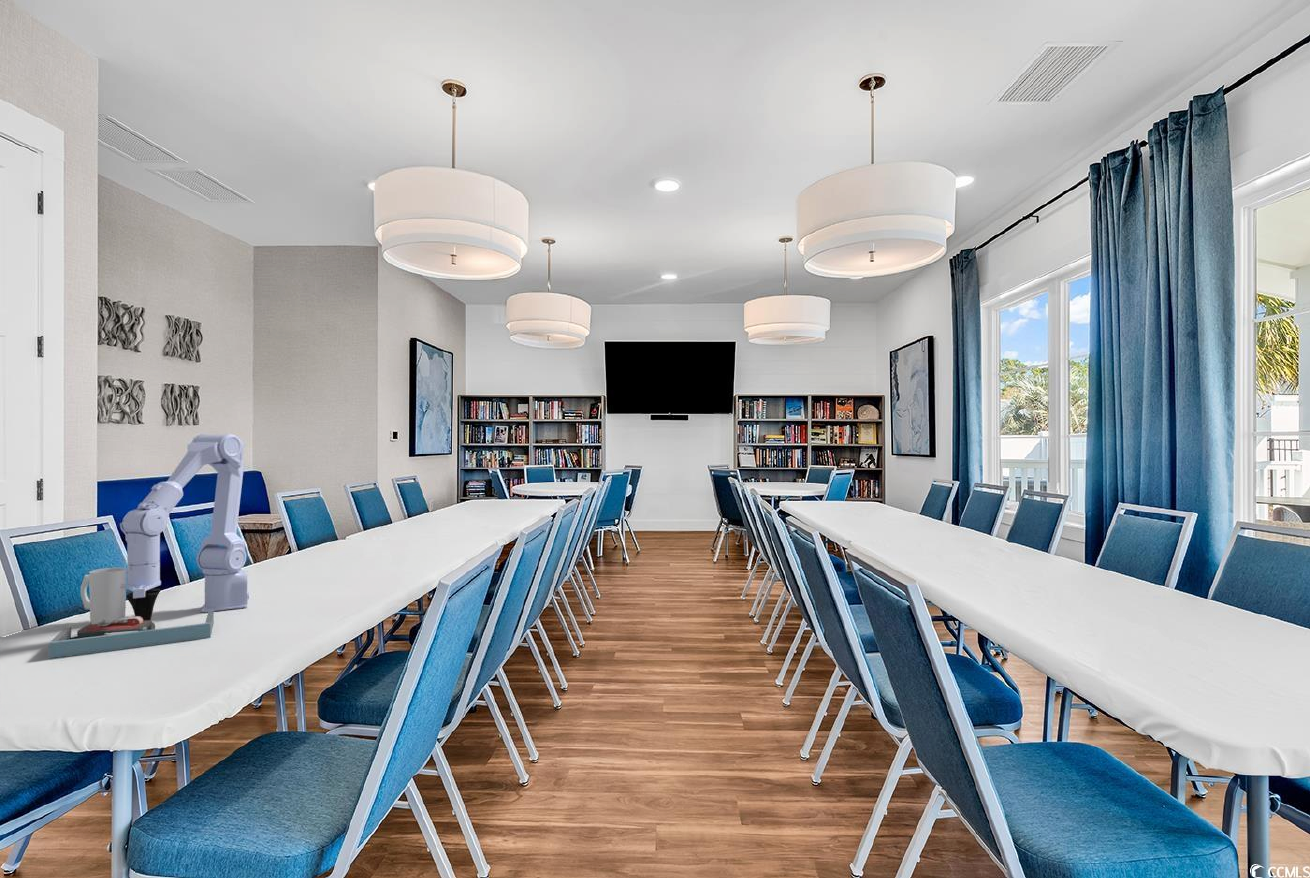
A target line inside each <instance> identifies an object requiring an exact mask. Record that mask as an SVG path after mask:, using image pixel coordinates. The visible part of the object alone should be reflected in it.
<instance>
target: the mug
mask: <svg viewBox="0 0 1310 878" xmlns="http://www.w3.org/2000/svg"><path fill="white" fill-rule="evenodd" d="M88 573H89V574H85V575H84V577H83V581H82V583H81V586H80V597H81V600H82V604H83V606H84V609H85V610H89V618H90V619H89V620H90V625H91V624H98V623H99V622H101V621H103V620H106V621H105V623H107V622H112V621H114V620H116V619H118V618H120V617H126V609H127V607H126V606H127V605H126V603H127V600H126V599H127V588H121V585H122V584H127V568H126V567H109V568H100V569H94V570H91V571H89V572H88ZM88 587H89V596H88V593H87V589H88ZM119 622H124V620H120V621H115V622H113V623H119Z"/></svg>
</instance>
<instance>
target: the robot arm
mask: <svg viewBox="0 0 1310 878" xmlns="http://www.w3.org/2000/svg"><path fill="white" fill-rule="evenodd" d="M244 448H245V444H244V442H243V441H242V440H241V439H240V438H239V437H238V436H237V434H233V433H227V434H206V433H200V434H197V435H196V436H195V437H193V438H192V441H191V442H190V443H188V444H187V452H186V453H185V455H184V457H183V458H182V459H181V461H180V462H179V463H178V465H177V467H176V468H175V470H174V471H173V472H172V473H171V474H170V476H169V477H168V479H167V481H160V482H158V483H157V484H154V485H153V486H152V487H151V488H150V489H151V491H150V492H149V493H148V495H147V496H145V498H144V499H143V501H142V502H139V504H138V506H137V508H136V509H132V510H130V511H128V512H127V513H126V515H125V516H124V517H123V518H122V521H121V522H120V523H119V527H120V530H121V532H122V533H123V534H124V535H125V541H126V543H127V544H126V545H127V547H126V548H127V559H126V560H127V561H126V562H127V564H126V565H127V568H126V584H122V585H121V588H126V590H129V591H131V592H129V593H126V599H127V600H128V602H129V603H130V605H131V608H132V610H133V614H134V616H140V617H142V618H143V621H147V620H150V621H152V616H153V613H154V607H155V603H156V601H157V598H158V596H159V594H160V592H161V588H157V587H159V586H161V585H162V581H161V547H160V545H161V533H162V532H163V531H164V530H165V529H166V528H167V526H168V519H169V517H170V513H171V512H172V511H173V509H174V508H175V507H176V506H177V504H178V503H179V502H180V501H181V499H183V496H184V491H183V488H184V487H185V486H186V485H187V484H188V483H189V482H190V481H191V480H192V478H193V477H194V476H195V475H196V474H197V473H199V471H200V470H201V469H202V468H203V467H204V466H206V465H208V466H209V465H210V467H212V468H213V469H214V470H215V471H216V472H217V478H216V484H215V485H216V486H215V497H214V503H213V512H212V520H211V529H210V534H209V535H208V536H207V537H205V538H204V539H203V540H202V541H201V547H200V549H199V551H198V553H197V556H196V564H197V566H198V568H199V570H202V574H204V604H203V605H202V609H201V613H208V611H214V612H217V611H225V610H226V611H227V610H236V609H242V608H248V600H250V592H249V591H248V570H242V568H244V566H245V564H246V562H247V552H246V548H245V546H246V542H245V541H244V539H242V538H241V536H239V535H238V533H237V532H238V531H237V530H238V523H239V512H240V504H241V496H242V495H241V494H242V487H243V486H242V485H243V479H244V478H243V476H244V469H245V468H244V465H245V464H244V460H243V458H244V451H245V450H244ZM221 545H222V546H221Z"/></svg>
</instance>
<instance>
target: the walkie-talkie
mask: <svg viewBox="0 0 1310 878" xmlns="http://www.w3.org/2000/svg"><path fill="white" fill-rule="evenodd" d="M120 620H123V621H120ZM105 621H106V620H103V621H101V622H99V623H98V624H91V623H90V624H87V625H85V626H84V627H82V628H80V629H78V630H77V632H76V636H71V638H70V639H69V640H71V639H79V638H87V637H95V636H104V635H112V634H120V633H128V632H136V631H145V630H153V629H156V625H155V623H154V622H153V620H151V621H150V620H147V621H143V618H142V617H140V616H135V615H133V616H125V617H120V618H118V619H116V620H114V621H112V622H107V623H105ZM115 621H120V622H116V623H113V622H115Z"/></svg>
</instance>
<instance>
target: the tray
mask: <svg viewBox="0 0 1310 878" xmlns="http://www.w3.org/2000/svg"><path fill="white" fill-rule="evenodd" d="M214 613H215V611H208V612H207V615H206V619H205V621H204V622H203V623H196V624H187V625H178V626H170V627H161V628H155V629H153V630H145V631H136V632H128V633H120V634H112V635H104V636H95V637H87V638H79V639H71V640H69V639H70V638H71V637H72V627H71V626H69V627H64V628H63V629H62V630H61V631H60V632H59V633H58V634H57V635H56V636H55V637H54V638H53V639H52V640H51V641H49V643H48V659H49V658H51V659H56V658H55V657H59V658H62V657H61V656H66V657H70V656H69V655H74V656H79V655H81V656H82V655H87V654H95V653H102V652H110V651H111V652H112V651H117V650H118V649H119V650H125V649H126V648H127V649H133V647H134V648H140V647H141V648H142V647H148V646H155V645H157V646H158V645H163V644H171V643H178V642H186V641H192V640H193V641H194V640H201V639H207V638H208V639H209V638H212V637H211V636H212V633H213V629H212V628H214V625H215V624H214V616H215V615H214ZM127 649H126V650H127Z"/></svg>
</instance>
